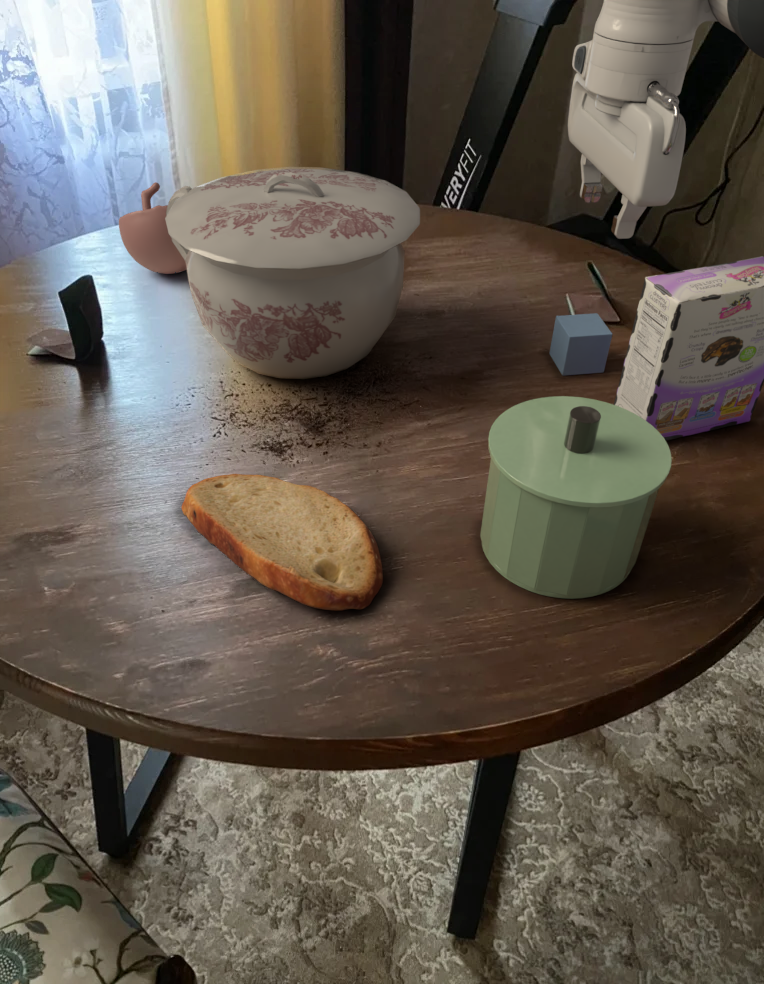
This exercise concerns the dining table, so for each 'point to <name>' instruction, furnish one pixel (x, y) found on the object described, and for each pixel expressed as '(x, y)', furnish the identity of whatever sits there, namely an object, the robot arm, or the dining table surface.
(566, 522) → the pot
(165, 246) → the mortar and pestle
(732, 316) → the candy box
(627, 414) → the pot lid
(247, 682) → the dining table surface
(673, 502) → the dining table surface
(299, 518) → the bread slice
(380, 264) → the chamber pot
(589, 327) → the block
